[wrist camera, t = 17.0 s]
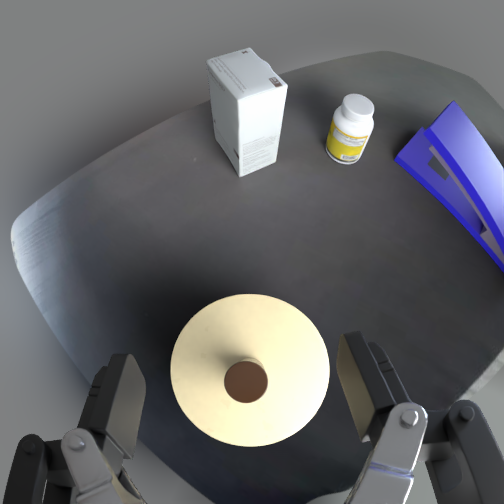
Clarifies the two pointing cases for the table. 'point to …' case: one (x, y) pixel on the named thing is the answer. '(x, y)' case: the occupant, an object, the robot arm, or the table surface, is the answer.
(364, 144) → the supplement bottle
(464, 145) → the stapler
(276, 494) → the table surface
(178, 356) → the lid
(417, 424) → the robot arm
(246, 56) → the cosmetic box
